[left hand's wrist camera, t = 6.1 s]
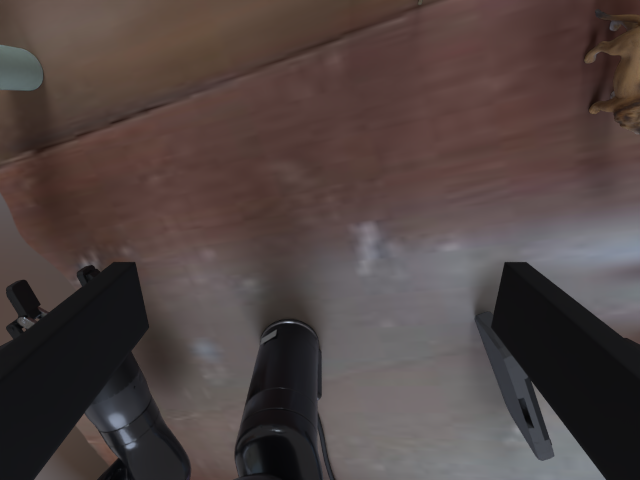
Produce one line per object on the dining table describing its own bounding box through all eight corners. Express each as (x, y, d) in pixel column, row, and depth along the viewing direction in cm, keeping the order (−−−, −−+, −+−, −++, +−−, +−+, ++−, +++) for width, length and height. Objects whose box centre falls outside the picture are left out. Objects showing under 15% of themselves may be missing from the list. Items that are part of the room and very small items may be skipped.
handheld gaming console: (523, 406, 62) (559, 460, 52) (508, 411, 62) (541, 466, 53) (488, 305, 54) (523, 347, 45) (471, 311, 55) (502, 355, 45)
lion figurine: (636, 121, 44) (710, 126, 36) (593, 141, 45) (655, 150, 37) (615, -1, 39) (694, -29, 31) (567, 24, 40) (632, 3, 32)
